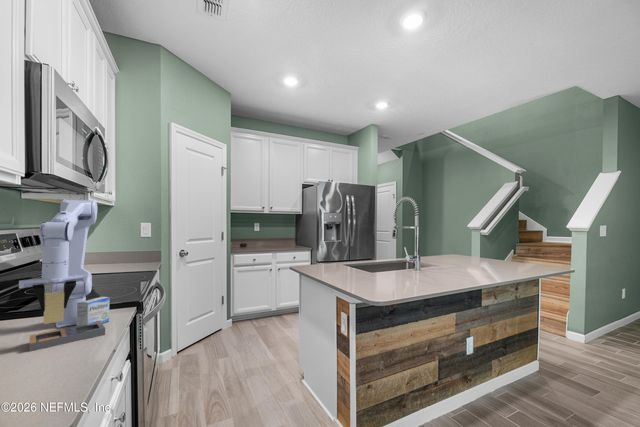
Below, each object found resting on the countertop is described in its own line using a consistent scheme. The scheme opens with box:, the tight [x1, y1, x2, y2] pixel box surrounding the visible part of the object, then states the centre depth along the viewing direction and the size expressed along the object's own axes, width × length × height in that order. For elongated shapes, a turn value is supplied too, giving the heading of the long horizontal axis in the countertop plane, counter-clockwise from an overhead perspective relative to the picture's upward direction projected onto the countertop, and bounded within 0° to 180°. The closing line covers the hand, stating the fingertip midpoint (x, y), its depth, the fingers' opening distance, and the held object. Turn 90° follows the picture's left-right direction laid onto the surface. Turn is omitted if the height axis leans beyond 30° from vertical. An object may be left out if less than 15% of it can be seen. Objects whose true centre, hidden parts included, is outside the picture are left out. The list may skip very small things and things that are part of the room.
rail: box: [28, 322, 106, 352], centre depth 85 cm, size 8×16×2 cm, turn 136°
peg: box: [43, 291, 64, 325], centre depth 82 cm, size 4×4×8 cm
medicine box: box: [76, 296, 110, 327], centre depth 97 cm, size 8×4×9 cm, turn 168°
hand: (53, 309), depth 82 cm, fingers closed on peg, 4 cm apart
